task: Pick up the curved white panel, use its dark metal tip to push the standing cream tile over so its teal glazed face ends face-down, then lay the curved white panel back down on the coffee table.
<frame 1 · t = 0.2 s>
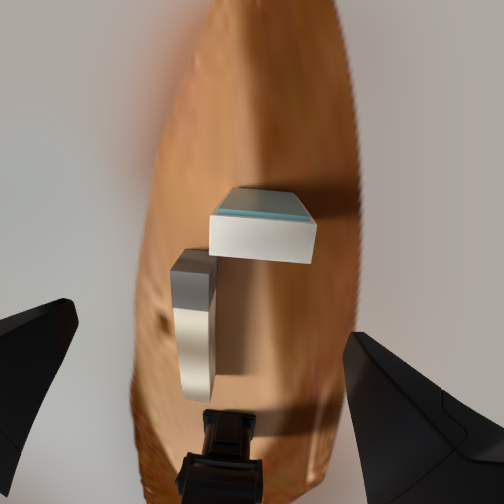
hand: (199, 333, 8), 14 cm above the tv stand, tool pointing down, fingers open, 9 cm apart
tile: (261, 205, 21), on the tv stand
curved white panel: (201, 321, 25), on the tv stand
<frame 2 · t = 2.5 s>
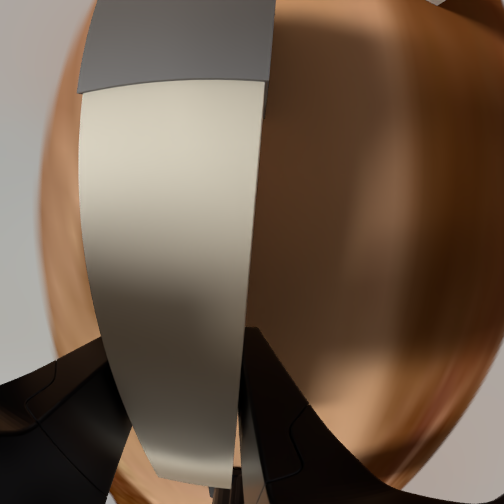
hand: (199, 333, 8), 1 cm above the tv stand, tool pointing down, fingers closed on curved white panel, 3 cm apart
curved white panel: (206, 256, 8), on the tv stand, touching gripper
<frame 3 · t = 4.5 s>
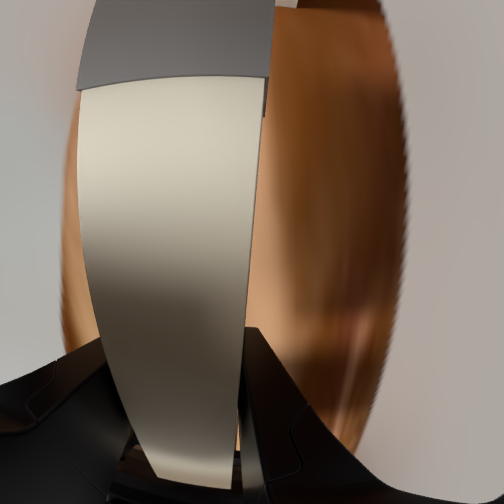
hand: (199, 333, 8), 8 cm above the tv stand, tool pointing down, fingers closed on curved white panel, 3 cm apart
curved white panel: (205, 255, 8), point 7 cm above the tv stand, touching gripper
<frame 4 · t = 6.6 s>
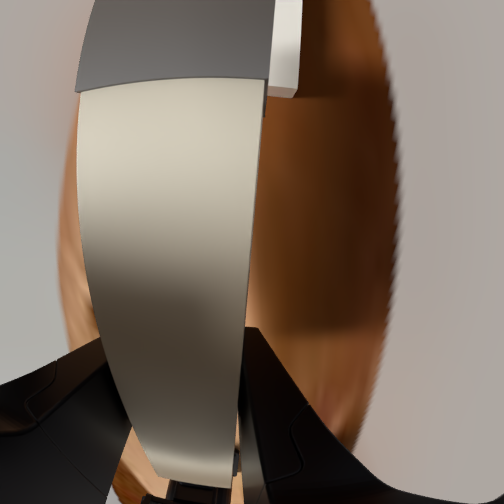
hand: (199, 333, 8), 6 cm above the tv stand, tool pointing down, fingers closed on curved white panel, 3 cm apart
tile: (234, 89, 10), point 1 cm above the tv stand, tilted 90°
curved white panel: (205, 256, 8), point 5 cm above the tv stand, touching gripper
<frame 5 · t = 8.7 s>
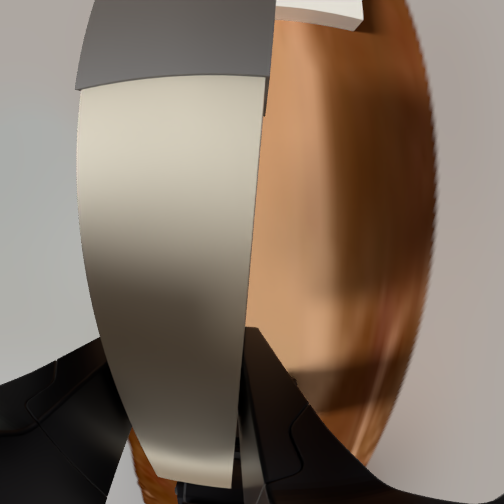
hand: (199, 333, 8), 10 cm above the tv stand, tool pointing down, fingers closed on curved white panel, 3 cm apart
tile: (317, 17, 11), point 1 cm above the tv stand, tilted 90°
curved white panel: (206, 255, 8), point 9 cm above the tv stand, touching gripper
when the fingers open (3 cm above the tv stand, at t = 10.4 s): curved white panel drops 2 cm, on the tv stand.
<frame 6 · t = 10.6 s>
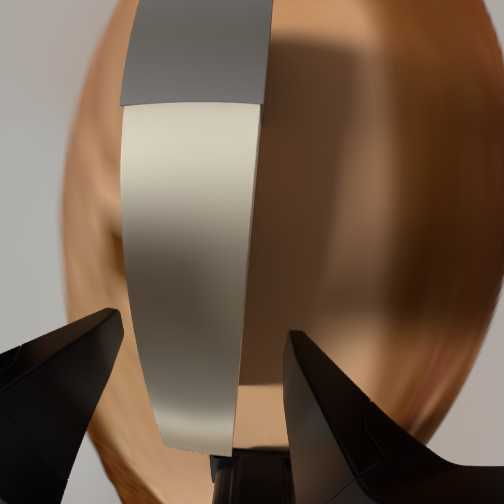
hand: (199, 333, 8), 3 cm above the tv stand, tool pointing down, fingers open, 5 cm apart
curved white panel: (212, 241, 9), on the tv stand
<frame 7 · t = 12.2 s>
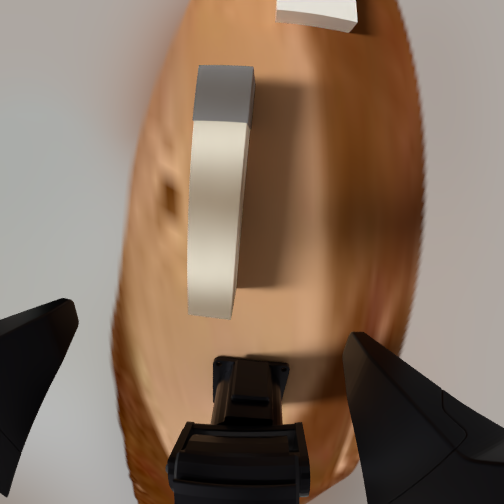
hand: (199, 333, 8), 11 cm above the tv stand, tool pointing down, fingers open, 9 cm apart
tile: (315, 20, 12), point 1 cm above the tv stand, tilted 90°
curved white panel: (224, 189, 17), on the tv stand
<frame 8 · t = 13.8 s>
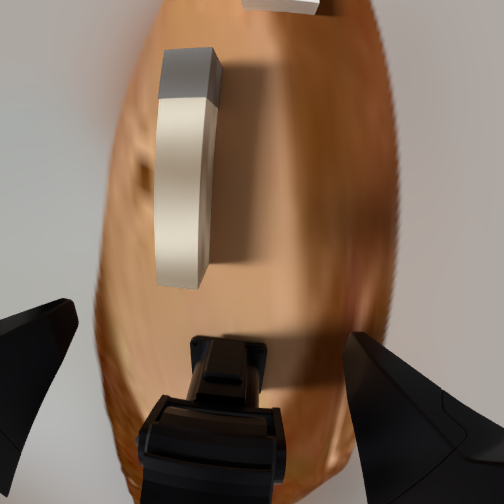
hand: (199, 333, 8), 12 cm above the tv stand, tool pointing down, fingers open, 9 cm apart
tile: (279, 5, 12), point 1 cm above the tv stand, tilted 90°
curved white panel: (194, 165, 18), on the tv stand
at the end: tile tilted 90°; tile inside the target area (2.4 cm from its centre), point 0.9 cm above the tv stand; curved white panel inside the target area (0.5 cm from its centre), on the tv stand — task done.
